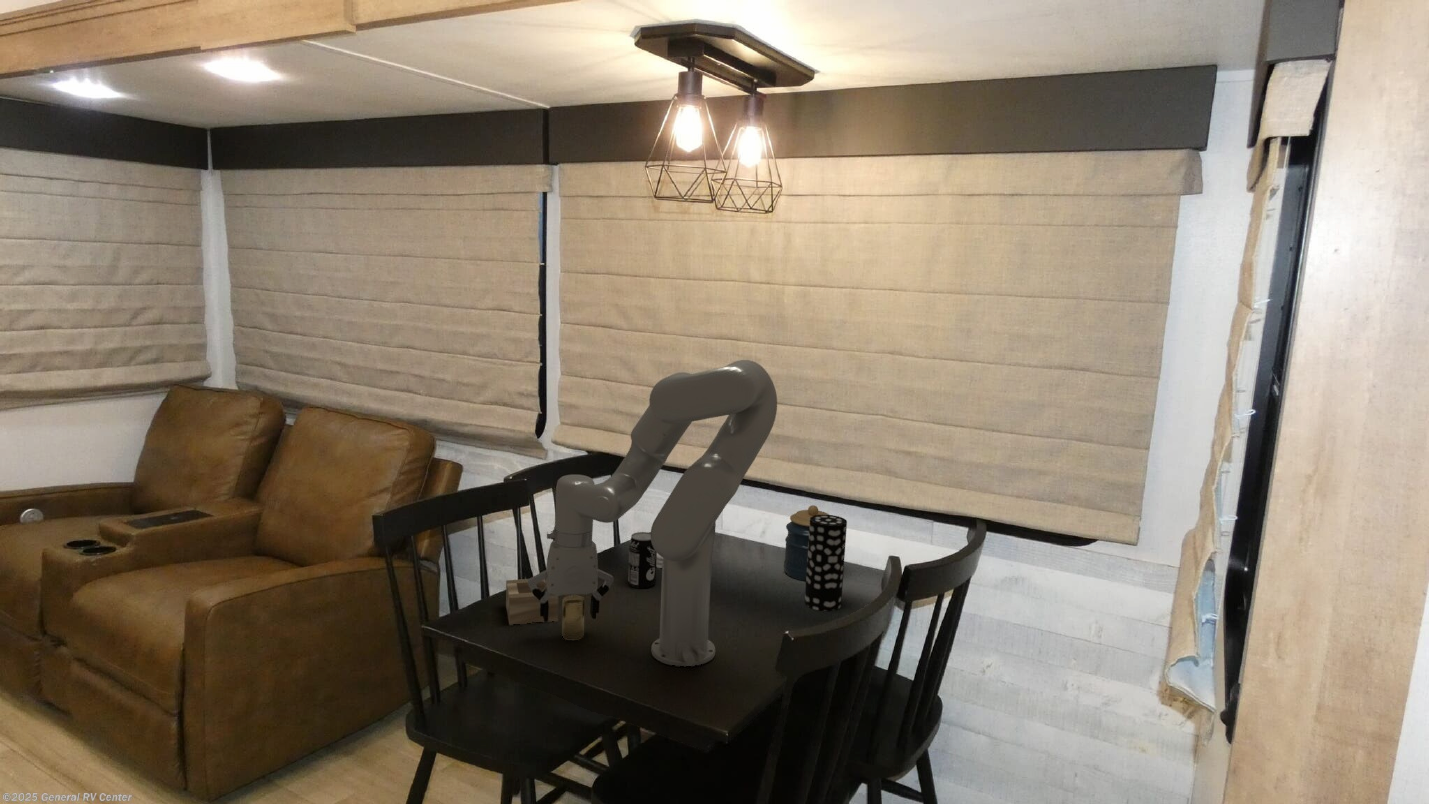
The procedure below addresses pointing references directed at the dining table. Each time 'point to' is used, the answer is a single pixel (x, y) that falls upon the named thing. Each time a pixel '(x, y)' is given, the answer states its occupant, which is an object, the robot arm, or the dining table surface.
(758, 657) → the dining table surface
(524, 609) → the frame
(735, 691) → the dining table surface
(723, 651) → the dining table surface
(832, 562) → the white-spotted black cylinder
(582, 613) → the banded brass cylinder
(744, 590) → the dining table surface
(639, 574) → the beverage can
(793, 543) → the canister
